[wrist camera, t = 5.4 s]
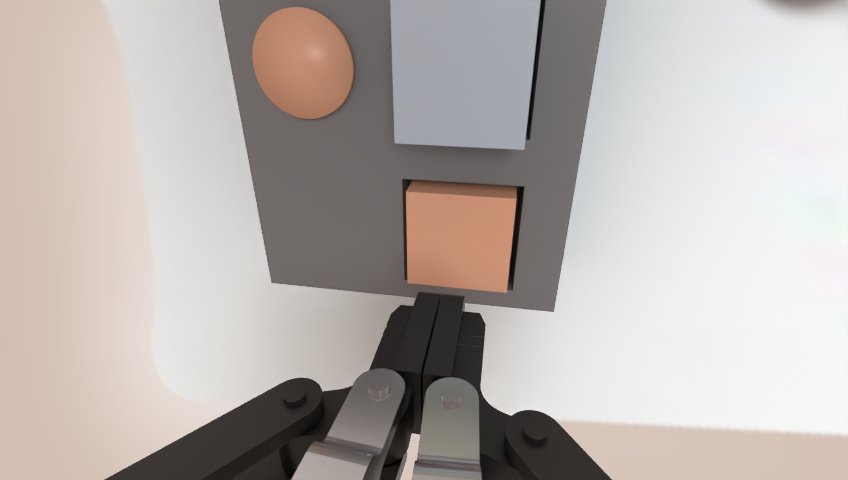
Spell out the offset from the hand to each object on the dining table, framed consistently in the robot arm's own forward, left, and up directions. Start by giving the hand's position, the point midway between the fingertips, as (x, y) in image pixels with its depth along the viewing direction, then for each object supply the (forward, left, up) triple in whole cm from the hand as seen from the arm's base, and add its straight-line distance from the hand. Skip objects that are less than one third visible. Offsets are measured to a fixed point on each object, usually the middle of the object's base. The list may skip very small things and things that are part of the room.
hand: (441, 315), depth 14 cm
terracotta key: (0, 0, -9) cm, 9 cm away
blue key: (-7, 0, -7) cm, 10 cm away
